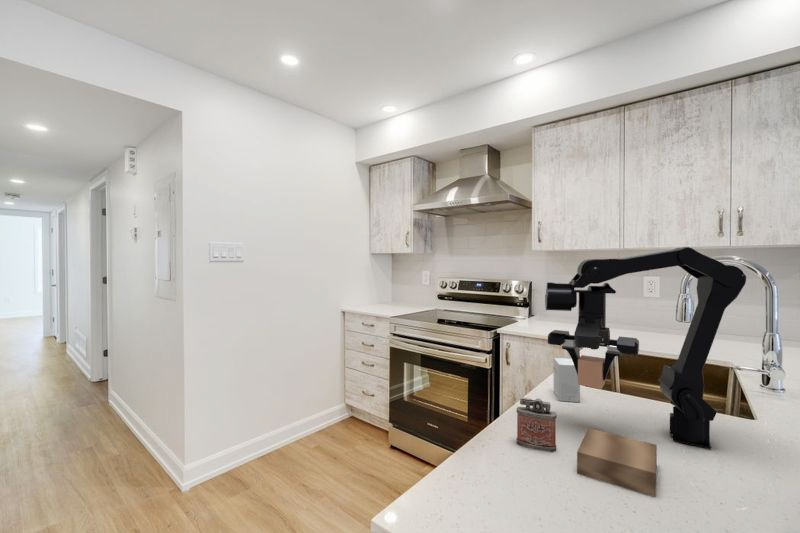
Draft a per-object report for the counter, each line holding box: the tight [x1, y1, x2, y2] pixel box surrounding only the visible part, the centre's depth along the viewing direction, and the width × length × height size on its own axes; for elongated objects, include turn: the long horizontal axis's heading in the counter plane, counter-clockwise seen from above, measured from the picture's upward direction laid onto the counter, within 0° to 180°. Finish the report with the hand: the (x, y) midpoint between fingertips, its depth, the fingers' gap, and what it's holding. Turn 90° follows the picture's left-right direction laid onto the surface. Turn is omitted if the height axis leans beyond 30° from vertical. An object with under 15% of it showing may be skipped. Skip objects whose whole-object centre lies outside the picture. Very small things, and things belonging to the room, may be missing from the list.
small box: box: [552, 357, 581, 403], centre depth 107 cm, size 8×6×10 cm
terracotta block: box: [578, 354, 606, 390], centre depth 87 cm, size 5×5×6 cm
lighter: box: [515, 396, 558, 453], centre depth 78 cm, size 8×3×10 cm, turn 65°
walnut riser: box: [576, 428, 658, 498], centre depth 70 cm, size 12×12×4 cm
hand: (591, 377), depth 87 cm, fingers closed on terracotta block, 5 cm apart
